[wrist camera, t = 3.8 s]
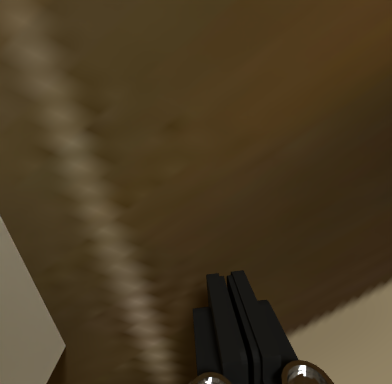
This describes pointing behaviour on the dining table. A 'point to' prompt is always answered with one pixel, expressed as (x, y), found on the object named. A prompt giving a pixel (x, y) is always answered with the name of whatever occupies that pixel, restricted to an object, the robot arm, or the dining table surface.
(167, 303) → the dining table surface
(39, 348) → the carton
